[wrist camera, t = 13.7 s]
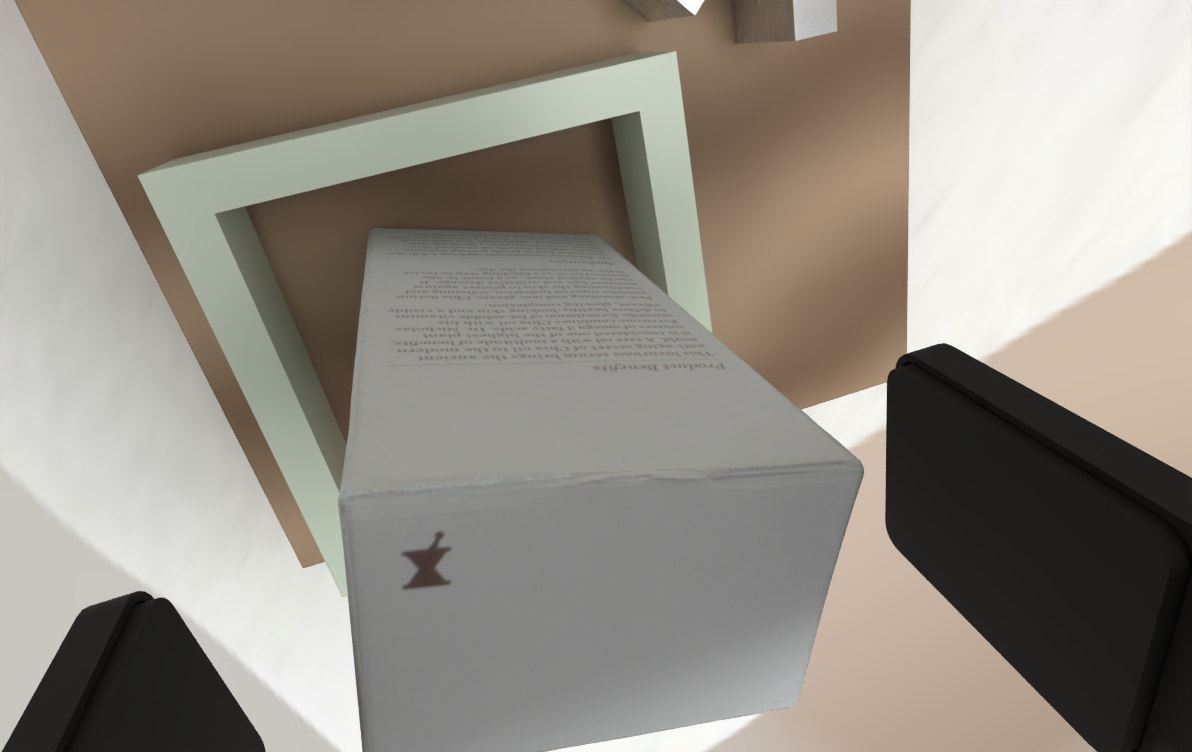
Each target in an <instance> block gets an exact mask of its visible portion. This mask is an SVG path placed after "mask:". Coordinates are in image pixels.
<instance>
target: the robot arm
mask: <svg viewBox="0 0 1192 752" xmlns="http://www.w3.org/2000/svg"><path fill="white" fill-rule="evenodd" d="M886 434H887V435H886V512H885V513H886V515H885V516H886V517H885V520H886V521H885V522H886V529H887V532H888V534H889V537H890V539H891V541H892V543H893V544H894V546H895V547H896V548H897V549H898V550H899V551H900V552H901V554H902V555H903V556H904V557H906V559H907V560H908V561H909V562H910V563H911V564H912V565H913V566H914V567H915V568H916V569H917V570H918V571H919V572H920V573H921V574H922V575H923V576H924V577H925V578H926V579H927V580H928V581H929V582H930V583H931V584H932V585H933V586H934V587H935V588H936V589H937V590H938V591H939V592H940V593H941V594H942V595H943V596H944V597H945V598H946V599H947V600H948V601H949V602H950V603H951V604H952V605H953V606H954V607H955V608H956V609H957V610H958V611H959V612H960V613H961V614H962V615H963V617H964V618H965V619H966V620H967V621H968V622H969V623H970V624H971V625H972V626H973V627H975V629H976V630H977V631H978V632H979V633H980V634H981V635H982V636H983V637H984V638H985V639H986V640H987V641H988V642H989V643H990V644H991V645H992V646H993V647H994V648H995V649H996V650H997V651H998V652H999V653H1000V654H1001V655H1002V656H1003V657H1004V658H1005V659H1006V660H1007V661H1008V662H1009V663H1010V664H1011V665H1012V666H1013V667H1014V668H1015V669H1016V670H1017V671H1018V672H1019V673H1020V674H1021V675H1022V677H1023V678H1025V679H1026V681H1027V682H1028V683H1029V684H1030V685H1031V686H1032V687H1033V688H1034V689H1035V690H1036V691H1038V693H1039V694H1040V695H1041V696H1042V697H1043V698H1044V699H1045V700H1046V701H1047V702H1048V703H1049V704H1050V705H1051V706H1052V707H1053V708H1054V709H1055V710H1056V711H1057V712H1058V713H1059V714H1060V715H1061V716H1062V717H1063V718H1064V719H1065V720H1066V721H1067V722H1068V723H1069V724H1070V725H1071V726H1072V727H1073V728H1074V729H1075V730H1076V731H1077V732H1078V733H1079V734H1080V735H1081V736H1082V737H1083V739H1084V740H1085V741H1086V742H1087V743H1088V744H1089V745H1091V746H1092V747H1093V748H1094V749H1095V750H1096V751H1097V752H1192V478H1191V477H1189V476H1187V475H1186V474H1184V473H1182V472H1180V471H1178V470H1176V469H1175V468H1173V467H1171V466H1169V465H1167V464H1165V463H1164V462H1162V461H1160V460H1158V459H1156V458H1155V457H1153V456H1151V455H1149V454H1147V453H1145V452H1144V451H1142V450H1140V449H1138V448H1136V447H1135V446H1133V445H1131V444H1129V443H1127V442H1125V441H1124V440H1122V439H1120V438H1118V437H1116V436H1115V435H1113V434H1111V433H1109V432H1107V431H1106V430H1104V429H1102V428H1100V427H1098V426H1096V425H1095V424H1093V423H1091V422H1089V421H1087V420H1086V419H1084V418H1082V417H1080V416H1078V415H1076V414H1075V413H1072V412H1071V411H1069V410H1067V409H1066V408H1064V407H1062V406H1060V405H1058V404H1057V403H1055V402H1053V401H1051V400H1049V399H1047V398H1046V397H1044V396H1042V395H1040V394H1038V393H1037V392H1035V391H1033V390H1031V389H1029V388H1027V387H1026V386H1024V385H1022V384H1020V383H1018V382H1017V381H1015V380H1013V379H1011V378H1009V377H1007V376H1006V375H1004V374H1002V373H1000V372H998V371H996V370H995V369H993V368H991V367H989V366H987V365H986V364H984V363H982V362H980V361H978V360H977V359H975V358H973V357H971V356H969V355H967V354H966V353H964V352H962V351H960V350H958V349H957V348H955V347H953V346H951V345H948V344H945V343H943V344H937V345H934V346H930V347H927V348H924V349H921V350H917V351H914V352H911V353H908V354H904V355H902V356H901V357H900V358H899V359H898V361H897V363H896V367H895V369H893V370H892V371H890V373H889V375H888V379H887V430H886ZM2 752H265V747H264V744H263V741H262V740H261V737H260V736H259V734H258V733H257V731H256V730H255V728H254V726H253V725H252V723H251V722H250V721H249V719H248V717H247V716H246V714H245V713H244V712H243V710H242V709H241V707H240V705H239V704H238V702H237V701H236V699H235V698H234V696H233V695H232V694H231V692H230V690H229V689H228V687H227V686H226V684H225V683H224V681H223V680H222V678H221V677H220V675H219V674H218V672H217V671H216V669H215V668H214V666H213V665H212V663H211V662H210V660H209V659H208V657H207V656H206V654H205V653H204V651H203V650H202V648H201V647H200V645H199V644H198V642H197V641H196V639H195V638H194V636H193V635H192V633H191V632H190V630H189V629H188V627H187V626H186V624H185V623H184V621H183V619H182V618H181V616H180V615H179V613H178V612H177V610H176V609H175V607H174V606H173V605H172V603H171V602H170V601H169V600H167V599H165V598H157V599H154V598H153V597H152V596H151V595H150V594H148V593H146V592H144V591H137V592H134V593H131V594H127V595H124V596H121V597H118V598H114V599H112V600H108V601H105V602H101V603H98V604H95V605H92V606H89V607H87V608H85V609H83V610H82V611H81V613H79V615H78V616H77V617H76V619H75V621H74V623H73V625H72V626H71V628H70V630H69V632H68V633H67V635H66V637H65V639H64V641H63V642H62V644H61V646H60V648H59V650H58V652H57V653H56V655H55V657H54V659H53V661H52V662H51V664H50V666H49V668H48V670H47V671H46V673H45V675H44V677H43V679H42V681H41V682H40V684H39V686H38V688H37V689H36V691H35V693H34V695H33V697H32V698H31V700H30V702H29V704H28V706H27V707H26V709H25V711H24V713H23V715H22V716H21V718H20V720H19V722H18V724H17V726H16V727H15V729H14V731H13V733H12V735H11V736H10V738H9V740H8V742H7V743H6V745H5V747H4V749H3V751H2Z"/></svg>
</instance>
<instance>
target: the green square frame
mask: <svg viewBox="0 0 1192 752" xmlns="http://www.w3.org/2000/svg"><path fill="white" fill-rule="evenodd" d="M608 118H611V120H612V126H613V132H614V137H615V143H616V149H617V154H618V160H619V166H620V172H621V177H622V183H623V189H624V195H625V200H626V206H627V212H628V218H629V223H630V229H631V235H632V240H633V246H634V252H635V258H636V263H637V269H638V270H639V271H640V272H641V273H642V274H644V275H645V276H646V277H647V278H648V279H649V280H651V281H652V282H653V283H654V284H656V285H657V286H658V287H659V288H660V289H661V290H662V291H663V292H665V293H666V294H667V295H668V296H669V297H670V298H671V299H673V300H674V301H675V302H676V303H677V304H678V305H680V306H681V307H682V308H683V309H685V310H686V311H687V312H688V313H689V314H690V315H691V316H692V317H693V318H695V319H696V320H697V321H698V322H699V323H700V324H702V325H703V326H704V327H705V328H706V329H707V330H709V331H710V332H711V333H712V326H711V318H710V310H709V303H708V295H707V287H706V279H705V272H704V264H703V256H702V248H701V240H700V233H699V225H698V217H697V209H696V202H695V194H694V186H693V178H692V171H691V163H690V155H689V147H688V139H687V132H686V124H685V116H684V108H683V101H682V93H681V85H680V77H679V69H678V62H677V54H676V51H666V52H639V53H635V54H631V55H626V56H622V57H617V58H613V59H609V60H604V61H600V62H596V63H591V64H587V65H583V66H578V67H574V68H569V69H565V70H561V71H556V72H552V73H548V74H543V75H539V76H535V77H530V78H526V79H521V80H517V81H513V82H508V83H504V84H500V85H495V86H491V87H486V88H482V89H478V90H473V91H469V92H465V93H460V94H456V95H452V96H447V97H443V98H438V99H434V100H430V101H425V102H421V103H417V104H412V105H408V106H404V107H399V108H395V109H390V110H386V111H382V112H377V113H373V114H369V115H364V116H360V117H355V118H351V119H347V120H342V121H338V122H334V123H329V124H325V125H321V126H316V127H312V128H307V129H303V130H299V131H294V132H290V133H286V134H281V135H277V136H272V137H268V138H264V139H259V140H255V141H251V142H246V143H242V144H238V145H233V146H229V147H224V148H220V149H216V150H211V151H207V152H203V153H198V154H194V155H190V156H185V157H181V158H176V159H173V160H171V161H169V162H166V163H164V164H162V165H160V166H157V167H155V168H153V169H151V170H148V171H146V172H144V173H142V174H139V175H137V176H138V178H139V180H140V182H141V184H142V186H143V188H144V190H145V192H146V194H147V196H148V198H149V200H150V202H151V204H152V206H153V208H154V210H155V213H156V215H157V217H158V219H159V221H160V223H161V225H162V227H163V229H164V231H165V233H166V235H167V237H168V239H169V241H170V243H171V245H172V247H173V250H174V252H175V254H176V256H177V258H178V260H179V262H180V264H181V266H182V268H183V270H184V272H185V274H186V276H187V278H188V280H189V282H190V285H191V287H192V289H193V291H194V293H195V295H196V297H197V299H198V301H199V303H200V305H201V307H202V309H203V311H204V313H205V315H206V317H207V319H208V322H209V324H210V326H211V328H212V330H213V332H214V334H215V336H216V338H217V340H218V342H219V344H220V346H221V348H222V350H223V352H224V354H225V356H226V359H227V361H228V363H229V365H230V367H231V369H232V371H233V373H234V375H235V377H236V379H237V381H238V383H239V385H240V387H241V389H242V391H243V393H244V396H245V398H246V400H247V402H248V404H249V406H250V408H251V410H252V412H253V414H254V416H255V418H256V420H257V422H258V424H259V426H260V428H261V430H262V433H263V435H264V437H265V439H266V441H267V443H268V445H269V447H270V449H271V451H272V453H273V455H274V457H275V459H276V461H277V463H278V465H279V467H280V470H281V472H282V474H283V476H284V478H285V480H286V482H287V484H288V486H289V488H290V490H291V492H292V494H293V496H294V498H295V500H296V502H297V504H298V507H299V509H300V511H301V513H302V515H303V517H304V519H305V521H306V523H307V525H308V527H309V529H310V531H311V533H312V535H313V537H314V539H315V541H316V544H317V546H318V548H319V550H320V552H321V554H322V556H323V558H324V560H325V562H326V564H327V566H328V568H329V570H330V572H331V574H332V576H333V579H334V581H335V583H336V585H337V587H338V589H339V591H340V593H341V595H342V597H344V596H347V595H348V592H347V581H346V571H345V560H344V550H343V541H342V533H341V525H340V517H339V509H338V497H339V493H340V487H341V481H342V474H343V467H344V460H345V453H346V447H347V444H346V442H345V440H344V437H343V435H342V433H341V430H340V428H339V426H338V423H337V421H336V419H335V416H334V414H333V412H332V409H331V407H330V405H329V402H328V400H327V397H326V395H325V393H324V390H323V388H322V386H321V383H320V381H319V379H318V376H317V374H316V372H315V369H314V367H313V365H312V362H311V360H310V357H309V355H308V353H307V350H306V348H305V346H304V343H303V341H302V339H301V336H300V334H299V332H298V329H297V327H296V325H295V322H294V320H293V318H292V315H291V313H290V310H289V308H288V306H287V303H286V301H285V299H284V296H283V294H282V292H281V289H280V287H279V285H278V282H277V280H276V278H275V275H274V273H273V271H272V268H271V266H270V263H269V261H268V259H267V256H266V254H265V252H264V249H263V247H262V245H261V242H260V240H259V238H258V235H257V233H256V231H255V228H254V226H253V223H252V221H251V219H250V216H249V214H248V212H247V209H246V207H245V206H248V205H252V204H256V203H261V202H265V201H269V200H273V199H277V198H281V197H285V196H290V195H294V194H298V193H302V192H306V191H310V190H314V189H318V188H323V187H327V186H331V185H335V184H339V183H343V182H347V181H352V180H356V179H360V178H364V177H368V176H372V175H376V174H380V173H385V172H389V171H393V170H397V169H401V168H405V167H409V166H414V165H418V164H422V163H426V162H430V161H434V160H438V159H443V158H447V157H451V156H455V155H459V154H463V153H467V152H471V151H476V150H480V149H484V148H488V147H492V146H496V145H500V144H505V143H509V142H513V141H517V140H521V139H525V138H529V137H533V136H538V135H542V134H546V133H550V132H554V131H558V130H562V129H567V128H571V127H575V126H579V125H583V124H587V123H591V122H595V121H600V120H604V119H608Z"/></svg>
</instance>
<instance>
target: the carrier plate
mask: <svg viewBox="0 0 1192 752" xmlns="http://www.w3.org/2000/svg"><path fill="white" fill-rule="evenodd" d="M14 1H15V3H16V5H17V6H18V8H19V10H20V12H21V14H22V16H23V18H24V20H25V22H26V24H27V26H28V28H29V30H30V32H31V34H32V36H33V38H34V40H35V42H36V44H37V46H38V48H39V50H40V52H41V54H42V56H43V58H44V60H45V62H46V64H47V65H48V67H49V69H50V71H51V73H52V75H53V77H54V79H55V81H56V83H57V85H58V87H59V89H60V91H61V93H62V95H63V97H64V99H65V101H66V103H67V105H68V107H69V109H70V111H71V113H72V115H73V117H74V119H75V121H76V123H77V125H78V126H79V128H80V130H81V132H82V134H83V136H84V138H85V140H86V142H87V144H88V146H89V148H90V150H91V152H92V154H93V156H94V158H95V160H96V162H97V164H98V166H99V168H100V170H101V172H102V174H103V176H104V178H105V180H106V182H107V184H108V185H109V187H110V189H111V191H112V193H113V195H114V197H115V199H116V201H117V203H118V205H119V207H120V209H121V211H122V213H123V215H124V217H125V219H126V221H127V223H128V225H129V227H130V229H131V231H132V233H133V235H134V237H135V239H136V241H137V243H138V244H139V246H140V248H141V250H142V252H143V254H144V256H145V258H146V260H147V262H148V264H149V266H150V268H151V270H152V272H153V274H154V276H155V278H156V280H157V282H158V284H159V286H160V288H161V290H162V292H163V294H164V296H165V298H166V300H167V302H168V304H169V305H170V307H171V309H172V311H173V313H174V315H175V317H176V319H177V321H178V323H179V325H180V327H181V329H182V331H183V333H184V335H185V337H186V339H187V341H188V343H189V345H190V347H191V349H192V351H193V353H194V355H195V357H196V359H197V361H198V363H199V364H200V366H201V368H202V370H203V372H204V374H205V376H206V378H207V380H208V382H209V384H210V386H211V388H212V390H213V392H214V394H215V396H216V398H217V400H218V402H219V404H220V406H221V408H222V410H223V412H224V414H225V416H226V418H227V420H228V422H229V424H230V425H231V427H232V429H233V431H234V433H235V435H236V437H237V439H238V441H239V443H240V445H241V447H242V449H243V451H244V453H245V455H246V457H247V459H248V461H249V463H250V465H251V467H252V469H253V471H254V473H255V475H256V477H257V479H258V481H259V483H260V484H261V486H262V488H263V490H264V492H265V494H266V496H267V498H268V500H269V502H270V504H271V506H272V508H273V510H274V512H275V514H276V516H277V518H278V520H279V522H280V524H281V526H282V528H283V530H284V532H285V534H286V536H287V538H288V540H289V542H290V543H291V545H292V547H293V549H294V551H295V553H296V555H297V557H298V559H299V561H300V563H301V565H302V567H303V568H306V567H309V566H312V565H315V564H318V563H322V562H325V560H324V558H323V556H322V554H321V552H320V550H319V548H318V546H317V544H316V541H315V539H314V537H313V535H312V533H311V531H310V529H309V527H308V525H307V523H306V521H305V519H304V517H303V515H302V513H301V511H300V509H299V507H298V504H297V502H296V500H295V498H294V496H293V494H292V492H291V490H290V488H289V486H288V484H287V482H286V480H285V478H284V476H283V474H282V472H281V470H280V467H279V465H278V463H277V461H276V459H275V457H274V455H273V453H272V451H271V449H270V447H269V445H268V443H267V441H266V439H265V437H264V435H263V433H262V430H261V428H260V426H259V424H258V422H257V420H256V418H255V416H254V414H253V412H252V410H251V408H250V406H249V404H248V402H247V400H246V398H245V396H244V393H243V391H242V389H241V387H240V385H239V383H238V381H237V379H236V377H235V375H234V373H233V371H232V369H231V367H230V365H229V363H228V361H227V359H226V356H225V354H224V352H223V350H222V348H221V346H220V344H219V342H218V340H217V338H216V336H215V334H214V332H213V330H212V328H211V326H210V324H209V322H208V319H207V317H206V315H205V313H204V311H203V309H202V307H201V305H200V303H199V301H198V299H197V297H196V295H195V293H194V291H193V289H192V287H191V285H190V282H189V280H188V278H187V276H186V274H185V272H184V270H183V268H182V266H181V264H180V262H179V260H178V258H177V256H176V254H175V252H174V250H173V247H172V245H171V243H170V241H169V239H168V237H167V235H166V233H165V231H164V229H163V227H162V225H161V223H160V221H159V219H158V217H157V215H156V213H155V210H154V208H153V206H152V204H151V202H150V200H149V198H148V196H147V194H146V192H145V190H144V188H143V186H142V184H141V182H140V180H139V178H138V176H137V175H139V174H142V173H144V172H146V171H148V170H151V169H153V168H155V167H157V166H160V165H162V164H164V163H166V162H169V161H171V160H173V159H176V158H181V157H185V156H190V155H194V154H198V153H203V152H207V151H211V150H216V149H220V148H224V147H229V146H233V145H238V144H242V143H246V142H251V141H255V140H259V139H264V138H268V137H272V136H277V135H281V134H286V133H290V132H294V131H299V130H303V129H307V128H312V127H316V126H321V125H325V124H329V123H334V122H338V121H342V120H347V119H351V118H355V117H360V116H364V115H369V114H373V113H377V112H382V111H386V110H390V109H395V108H399V107H404V106H408V105H412V104H417V103H421V102H425V101H430V100H434V99H438V98H443V97H447V96H452V95H456V94H460V93H465V92H469V91H473V90H478V89H482V88H486V87H491V86H495V85H500V84H504V83H508V82H513V81H517V80H521V79H526V78H530V77H535V76H539V75H543V74H548V73H552V72H556V71H561V70H565V69H569V68H574V67H578V66H583V65H587V64H591V63H596V62H600V61H604V60H609V59H613V58H617V57H622V56H626V55H631V54H635V53H639V52H666V51H676V54H677V62H678V69H679V77H680V85H681V93H682V101H683V108H684V116H685V124H686V132H687V139H688V147H689V155H690V163H691V171H692V178H693V186H694V194H695V202H696V209H697V217H698V225H699V233H700V240H701V248H702V256H703V264H704V272H705V279H706V287H707V295H708V303H709V310H710V318H711V326H712V334H713V335H714V336H715V337H716V338H718V339H719V340H720V341H721V342H722V343H723V344H725V345H726V346H727V347H728V348H729V349H730V350H732V351H733V352H734V353H735V354H736V355H737V356H739V357H740V358H741V359H742V360H743V361H745V362H746V363H747V364H748V365H749V366H750V367H751V368H753V369H754V370H755V371H756V372H757V373H758V374H759V375H761V376H762V377H763V378H764V379H765V380H766V381H767V382H769V383H770V384H771V385H772V386H773V387H775V388H776V389H777V390H778V391H779V392H781V393H782V394H783V395H784V396H786V397H787V398H788V399H789V400H790V401H791V402H792V403H793V404H794V405H795V406H797V407H798V408H799V409H800V410H801V409H804V408H807V407H811V406H814V405H817V404H820V403H823V402H826V401H829V400H832V399H836V398H839V397H842V396H845V395H848V394H851V393H854V392H858V391H861V390H864V389H867V388H870V387H873V386H876V385H879V384H883V383H886V382H887V379H888V375H889V373H890V371H892V370H893V369H895V367H896V363H897V361H898V359H899V358H900V357H901V356H902V355H904V354H907V280H908V189H909V98H910V7H911V0H836V5H837V31H836V32H831V33H827V34H823V35H819V36H814V37H810V38H806V39H802V40H797V41H784V42H764V43H743V44H735V37H734V26H733V15H732V5H731V0H704V1H703V3H702V5H701V6H700V8H699V10H698V11H697V13H696V15H694V16H687V17H681V18H674V19H667V20H661V21H654V22H647V21H646V20H644V19H643V18H642V17H641V16H640V15H638V14H637V13H636V12H635V11H633V10H632V9H631V8H630V7H629V6H627V5H626V4H625V3H624V2H622V1H621V0H14ZM245 207H246V209H247V212H248V214H249V216H250V219H251V221H252V223H253V226H254V228H255V231H256V233H257V235H258V238H259V240H260V242H261V245H262V247H263V249H264V252H265V254H266V256H267V259H268V261H269V263H270V266H271V268H272V271H273V273H274V275H275V278H276V280H277V282H278V285H279V287H280V289H281V292H282V294H283V296H284V299H285V301H286V303H287V306H288V308H289V310H290V313H291V315H292V318H293V320H294V322H295V325H296V327H297V329H298V332H299V334H300V336H301V339H302V341H303V343H304V346H305V348H306V350H307V353H308V355H309V357H310V360H311V362H312V365H313V367H314V369H315V372H316V374H317V376H318V379H319V381H320V383H321V386H322V388H323V390H324V393H325V395H326V397H327V400H328V402H329V405H330V407H331V409H332V412H333V414H334V416H335V419H336V421H337V423H338V426H339V428H340V430H341V433H342V435H343V437H344V440H345V442H346V444H347V440H348V434H349V424H350V409H351V396H352V386H353V373H354V364H355V356H356V347H357V335H358V326H359V315H360V308H361V297H362V289H363V282H364V274H365V263H366V253H367V242H368V236H369V232H370V230H371V229H372V228H389V229H427V230H465V231H501V232H531V233H561V234H595V235H598V236H600V237H601V238H602V239H604V240H605V241H606V242H607V243H608V244H609V245H611V246H612V247H613V248H614V249H615V250H616V251H618V252H619V253H620V254H621V255H622V256H623V257H624V258H625V259H627V260H628V261H629V262H630V263H631V264H632V265H633V266H635V267H636V268H637V263H636V258H635V252H634V246H633V240H632V235H631V229H630V223H629V218H628V212H627V206H626V200H625V195H624V189H623V183H622V177H621V172H620V166H619V160H618V154H617V149H616V143H615V137H614V132H613V126H612V120H611V118H608V119H604V120H600V121H595V122H591V123H587V124H583V125H579V126H575V127H571V128H567V129H562V130H558V131H554V132H550V133H546V134H542V135H538V136H533V137H529V138H525V139H521V140H517V141H513V142H509V143H505V144H500V145H496V146H492V147H488V148H484V149H480V150H476V151H471V152H467V153H463V154H459V155H455V156H451V157H447V158H443V159H438V160H434V161H430V162H426V163H422V164H418V165H414V166H409V167H405V168H401V169H397V170H393V171H389V172H385V173H380V174H376V175H372V176H368V177H364V178H360V179H356V180H352V181H347V182H343V183H339V184H335V185H331V186H327V187H323V188H318V189H314V190H310V191H306V192H302V193H298V194H294V195H290V196H285V197H281V198H277V199H273V200H269V201H265V202H261V203H256V204H252V205H248V206H245Z"/></svg>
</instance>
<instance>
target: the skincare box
mask: <svg viewBox="0 0 1192 752" xmlns="http://www.w3.org/2000/svg"><path fill="white" fill-rule="evenodd" d="M863 474H864V468H863V465H862V463H861V461H859V460H858V459H857V458H856V457H855V456H854V455H853V454H852V453H851V452H849V451H848V450H847V449H846V448H845V447H844V446H843V445H842V444H840V443H839V442H838V441H837V440H836V439H835V438H833V437H832V436H831V435H830V434H829V433H827V432H826V431H825V430H824V429H822V428H821V427H820V426H819V425H818V424H816V423H815V422H814V421H813V420H812V419H811V418H810V417H809V416H808V415H807V414H805V413H804V412H803V411H802V410H800V409H799V408H798V407H797V406H795V405H794V404H793V403H792V402H791V401H790V400H789V399H788V398H787V397H786V396H784V395H783V394H782V393H781V392H779V391H778V390H777V389H776V388H775V387H773V386H772V385H771V384H770V383H769V382H767V381H766V380H765V379H764V378H763V377H762V376H761V375H759V374H758V373H757V372H756V371H755V370H754V369H753V368H751V367H750V366H749V365H748V364H747V363H746V362H745V361H743V360H742V359H741V358H740V357H739V356H737V355H736V354H735V353H734V352H733V351H732V350H730V349H729V348H728V347H727V346H726V345H725V344H723V343H722V342H721V341H720V340H719V339H718V338H716V337H715V336H714V335H713V334H712V333H711V332H710V331H709V330H707V329H706V328H705V327H704V326H703V325H702V324H700V323H699V322H698V321H697V320H696V319H695V318H693V317H692V316H691V315H690V314H689V313H688V312H687V311H686V310H685V309H683V308H682V307H681V306H680V305H678V304H677V303H676V302H675V301H674V300H673V299H671V298H670V297H669V296H668V295H667V294H666V293H665V292H663V291H662V290H661V289H660V288H659V287H658V286H657V285H656V284H654V283H653V282H652V281H651V280H649V279H648V278H647V277H646V276H645V275H644V274H642V273H641V272H640V271H639V270H638V269H637V268H636V267H635V266H633V265H632V264H631V263H630V262H629V261H628V260H627V259H625V258H624V257H623V256H622V255H621V254H620V253H619V252H618V251H616V250H615V249H614V248H613V247H612V246H611V245H609V244H608V243H607V242H606V241H605V240H604V239H602V238H601V237H600V236H598V235H595V234H561V233H531V232H501V231H465V230H427V229H389V228H372V229H371V230H370V232H369V236H368V242H367V253H366V263H365V274H364V282H363V289H362V297H361V308H360V315H359V326H358V335H357V347H356V356H355V364H354V373H353V386H352V396H351V409H350V424H349V434H348V440H347V447H346V453H345V460H344V467H343V474H342V481H341V487H340V493H339V497H338V509H339V517H340V525H341V533H342V541H343V550H344V560H345V571H346V581H347V592H348V602H349V612H350V623H351V633H352V644H353V654H354V665H355V675H356V686H357V696H358V707H359V718H360V729H361V739H362V750H363V752H545V751H551V750H556V749H561V748H567V747H573V746H579V745H585V744H591V743H597V742H602V741H608V740H614V739H620V738H626V737H632V736H637V735H642V734H648V733H653V732H658V731H664V730H669V729H675V728H680V727H686V726H691V725H696V724H702V723H707V722H712V721H718V720H724V719H730V718H736V717H741V716H747V715H753V714H758V713H762V712H767V711H773V710H782V709H790V708H792V707H795V706H796V705H797V704H798V700H799V696H800V692H801V688H802V684H803V681H804V677H805V673H806V670H807V666H808V663H809V659H810V655H811V651H812V648H813V644H814V640H815V636H816V633H817V629H818V625H819V622H820V618H821V614H822V611H823V607H824V603H825V600H826V596H827V593H828V589H829V585H830V582H831V579H832V575H833V572H834V568H835V565H836V562H837V558H838V555H839V551H840V548H841V545H842V541H843V538H844V535H845V532H846V528H847V525H848V522H849V519H850V515H851V512H852V509H853V505H854V503H855V499H856V497H857V494H858V490H859V488H860V485H861V481H862V479H863Z"/></svg>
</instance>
